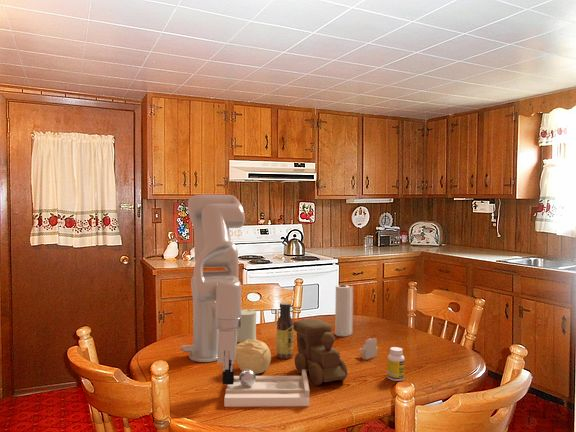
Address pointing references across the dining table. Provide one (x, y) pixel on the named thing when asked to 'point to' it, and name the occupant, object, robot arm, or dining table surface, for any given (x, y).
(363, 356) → the architectural model
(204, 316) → the robot arm
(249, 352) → the sculpture
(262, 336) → the dining table surface
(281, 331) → the sauce bottle
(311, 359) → the wooden toy train
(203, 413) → the dining table surface
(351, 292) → the paper towel roll
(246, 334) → the can
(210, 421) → the dining table surface
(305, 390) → the white tray
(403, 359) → the supplement bottle
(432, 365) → the dining table surface
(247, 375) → the steel ball
